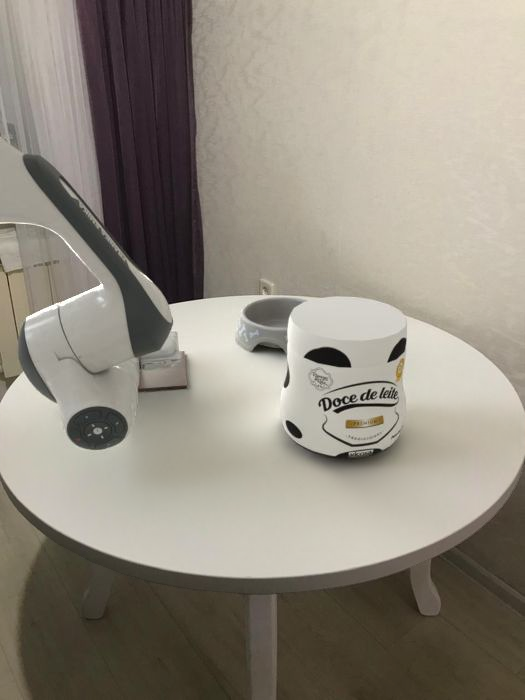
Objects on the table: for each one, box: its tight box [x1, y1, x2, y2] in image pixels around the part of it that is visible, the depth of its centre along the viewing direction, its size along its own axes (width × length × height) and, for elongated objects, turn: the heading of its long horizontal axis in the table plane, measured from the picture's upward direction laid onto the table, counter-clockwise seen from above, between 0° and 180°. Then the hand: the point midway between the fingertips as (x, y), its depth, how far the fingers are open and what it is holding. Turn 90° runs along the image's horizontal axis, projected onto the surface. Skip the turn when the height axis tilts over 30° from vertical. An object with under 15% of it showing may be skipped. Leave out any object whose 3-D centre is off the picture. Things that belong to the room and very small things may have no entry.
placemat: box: [138, 350, 188, 393], centre depth 100 cm, size 20×13×1 cm, turn 99°
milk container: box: [279, 295, 408, 460], centre depth 80 cm, size 17×17×18 cm
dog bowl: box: [234, 296, 309, 356], centre depth 113 cm, size 17×18×5 cm
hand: (114, 330), depth 95 cm, fingers open, 8 cm apart
